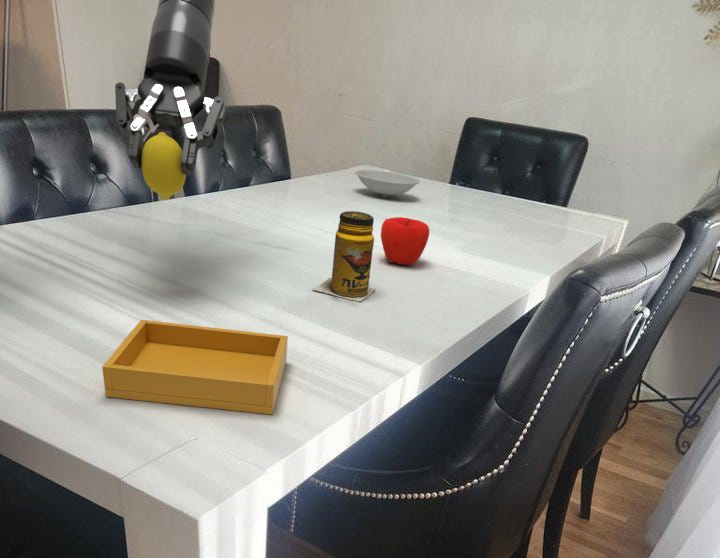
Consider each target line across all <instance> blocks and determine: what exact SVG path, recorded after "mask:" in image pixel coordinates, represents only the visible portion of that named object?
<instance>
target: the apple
mask: <svg viewBox="0 0 720 558" xmlns="http://www.w3.org/2000/svg"><path fill="white" fill-rule="evenodd" d="M429 237H430V227H429V226H428V224H427V223H425V222H423V221H421V220H419V219H414V218H409V217H403V216H399V217H391V218H385V219H384V220H383V222H382V224H381V229H380V241H381V244H382V245H381V246H382V249H383V252H384V253H383V254H384V256H385V258H386V260H388V262H391V263H393V264H397V265H403V266H410V265H412V264H415V263H416V262H417V261H418V260H419V259H421V256H422V255H423V253H424V250H425V248H426V246H427V244H428V240H429Z"/></svg>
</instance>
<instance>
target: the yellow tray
mask: <svg viewBox="0 0 720 558" xmlns="http://www.w3.org/2000/svg"><path fill="white" fill-rule="evenodd" d="M288 339H289V335H283V334H282V335H280V334H271V333H264V332H263V333H262V332H253V331H247V330H246V331H245V330H237V329H228V328H219V327H211V326H202V325H193V324H183V323H175V322H167V321H157V320H149V319H140V320H139V321H138V323H137V324H136V325H135V326H134V327H133V329H131V331H130V332H129V333H128V335H127V336H126V337H125V338H124V339H123V341H122V342H121V343H120V344H119V345H118V347H116V349H115V350H114V352H113V353H112V354H111V355H110V356H109V358H108V359H107V360H106V361H105V363H104V364H102V367H101V369H102V376H103V377H102V378H103V384H104V392H105V397H107V398H115V399H123V400H132V401H140V402H141V401H142V402H152V403H161V404H171V405H179V406H189V407H199V408H207V409H215V410H216V409H217V410H225V411H226V410H227V411H236V412H243V413H244V412H245V413H254V414H262V415H274V410H275V406H276V403H277V399H278V396H279V392H280V389H281V384H282V381H283V376H284V373H285V368H286V365H287V360H288V359H287V355H288V341H289V340H288Z"/></svg>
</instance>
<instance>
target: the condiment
mask: <svg viewBox="0 0 720 558" xmlns="http://www.w3.org/2000/svg"><path fill="white" fill-rule="evenodd" d="M374 219H375V218H374V217H373V215H371V214H369V213H367V212H362V211H356V210H355V211H354V210H352V211H351V210H347V211H343V212H341V213H340V214H339V222H338V225H337V230H336V232H335V236H334V247H333V258H332V259H333V260H332V271H331V277H328V278H327V279H325V281H323V282H322V283H320V284H319V285H317V286H315V287H314V288H312V289H311V291H316V292H319V293H324V294H327V295H328V294H329V295H332V296H335V297H338V298H343V299H347V300H350V301H355V302H362V301H363V300H365V299H366V298H368V297H369V296H370V295H371V294H372V293H373V292H374V291H375V290H377V288H374V287H369V286H370V278H371V275H370V274H371V269H372V259H373V251H374V245H375V236H374V234H373V231H374V223H375V222H374Z"/></svg>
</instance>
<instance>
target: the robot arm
mask: <svg viewBox="0 0 720 558" xmlns="http://www.w3.org/2000/svg"><path fill="white" fill-rule="evenodd" d="M215 7H216V0H158V3H157V9H156V10H157V11H156V14H155V17H154V19H153V22H152V26H151V31H150V35H149V36H150V37H149V43H148V48H147V54H146V60H145V66H144V71H143V79H142V81H141V82H139V84H138V86H137V87H126V85H125V83H123V82H117V83H116V84H115V85H114V90H115V91H114V92H115V121H116V124H117V126H118V128H119V131H120V133H121V136H122V137H123V138H126V139H127V138H129V139H128V145H127V151H126V154H127V156H128V160H129V161H130V163H131V164H132V166H133V168H134V169H137V170H138V169H139V170H140V169H141V170H142V166H141V158H142V151H143V148H144V145H145V141H146V140H147V138H148V137H149V136H150V134H153V133H155V131H156V130H157V129H158V127H159V126H172V127H175V128H183V129H184V132H185V135H186V138H184V139H183V145H182V151H183V152H182V158H181V169H182V172H183V175H186V176H190V174H191V172H194V170H195V169H196V167H197V166H196V165H197V159H198V152H199V151H200V149H202V148H206V149H209V150H211V149H213V148H214V147H215V145H216V142H217V140H218V136H219V134H220V132H221V128H222V126H223V123H224V121H225V119H226V114H227V113H226V108H225V102H224V99H223V97H222V96H219V95H216V96H215V97H214V98H210V97H207V96H205V87H206V80H207V74H208V66H209V64H210V59H211V47H212V36H211V35H212V34H211V33H212V27H213V23H214V22H213V21H214V15H215ZM139 100H140V102H141V104H140V106H139V108H138V111H137V115H136V116H135V117H134V119H133V120H132V113H131V110H133V109H135V105H136V102H137V101H139ZM204 110H206V115H207V117H206V119H205V122H204V124H203V127H202V129H201V130H199V131H197V130H196V126H195V123H194V121H193V120H195V118H196V117H197V116H198V115H200V114H201V113H202V112H203V111H204Z"/></svg>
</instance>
